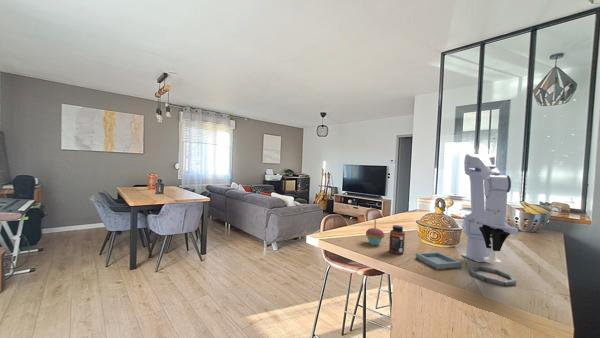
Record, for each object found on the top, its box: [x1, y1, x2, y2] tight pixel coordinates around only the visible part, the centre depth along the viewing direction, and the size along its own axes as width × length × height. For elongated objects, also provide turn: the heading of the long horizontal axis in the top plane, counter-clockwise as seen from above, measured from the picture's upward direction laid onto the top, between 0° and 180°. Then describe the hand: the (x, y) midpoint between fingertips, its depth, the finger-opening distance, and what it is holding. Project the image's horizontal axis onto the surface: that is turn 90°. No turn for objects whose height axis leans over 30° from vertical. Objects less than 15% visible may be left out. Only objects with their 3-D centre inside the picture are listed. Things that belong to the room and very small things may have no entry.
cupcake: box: [365, 218, 385, 246], centre depth 117 cm, size 9×8×12 cm
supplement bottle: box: [388, 224, 406, 255], centre depth 106 cm, size 6×6×11 cm
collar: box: [469, 265, 517, 287], centre depth 85 cm, size 12×12×1 cm
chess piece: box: [484, 234, 502, 265], centre depth 85 cm, size 5×5×10 cm
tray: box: [415, 251, 463, 270], centre depth 96 cm, size 11×11×2 cm
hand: (493, 249), depth 85 cm, fingers closed on chess piece, 2 cm apart
